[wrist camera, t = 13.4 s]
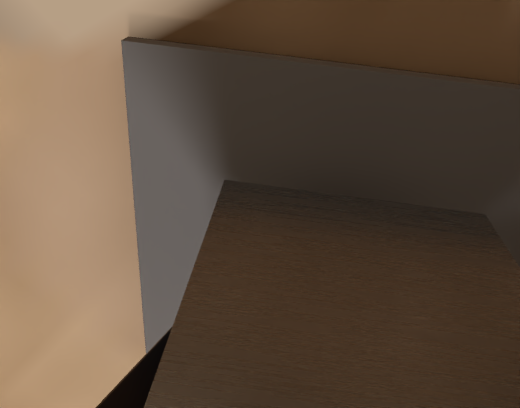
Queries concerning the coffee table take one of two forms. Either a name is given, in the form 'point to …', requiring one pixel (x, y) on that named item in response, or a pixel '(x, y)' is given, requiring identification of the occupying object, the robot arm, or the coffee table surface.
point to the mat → (302, 145)
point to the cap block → (343, 307)
